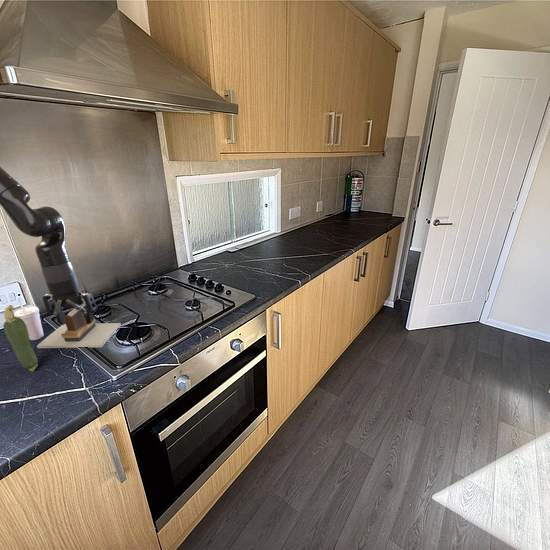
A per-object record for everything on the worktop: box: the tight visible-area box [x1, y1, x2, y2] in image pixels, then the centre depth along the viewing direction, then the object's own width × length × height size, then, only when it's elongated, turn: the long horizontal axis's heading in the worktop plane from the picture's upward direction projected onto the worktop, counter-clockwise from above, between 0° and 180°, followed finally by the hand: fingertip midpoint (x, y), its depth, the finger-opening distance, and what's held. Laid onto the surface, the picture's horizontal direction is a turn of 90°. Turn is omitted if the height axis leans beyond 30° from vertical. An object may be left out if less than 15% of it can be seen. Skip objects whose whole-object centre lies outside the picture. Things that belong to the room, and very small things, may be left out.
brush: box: [61, 308, 96, 342], centre depth 93 cm, size 9×5×8 cm, turn 179°
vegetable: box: [3, 304, 39, 372], centre depth 77 cm, size 4×4×20 cm
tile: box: [36, 322, 122, 349], centre depth 94 cm, size 20×12×1 cm, turn 89°
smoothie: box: [13, 298, 45, 341], centre depth 92 cm, size 6×6×14 cm
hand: (77, 323), depth 93 cm, fingers open, 8 cm apart
